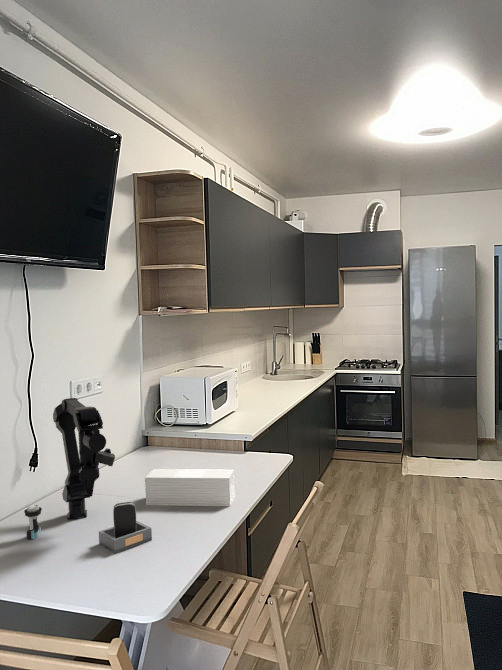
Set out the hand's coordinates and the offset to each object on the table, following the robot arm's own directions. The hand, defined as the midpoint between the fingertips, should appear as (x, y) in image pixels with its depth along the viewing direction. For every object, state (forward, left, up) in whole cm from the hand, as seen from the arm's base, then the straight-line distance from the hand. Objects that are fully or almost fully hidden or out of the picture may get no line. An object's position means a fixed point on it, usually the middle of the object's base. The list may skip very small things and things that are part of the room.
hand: (90, 491), depth 190 cm
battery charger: (+14, +10, -12) cm, 21 cm away
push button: (-2, -18, -13) cm, 22 cm away
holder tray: (+14, +10, -13) cm, 22 cm away
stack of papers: (-16, +36, -14) cm, 42 cm away
